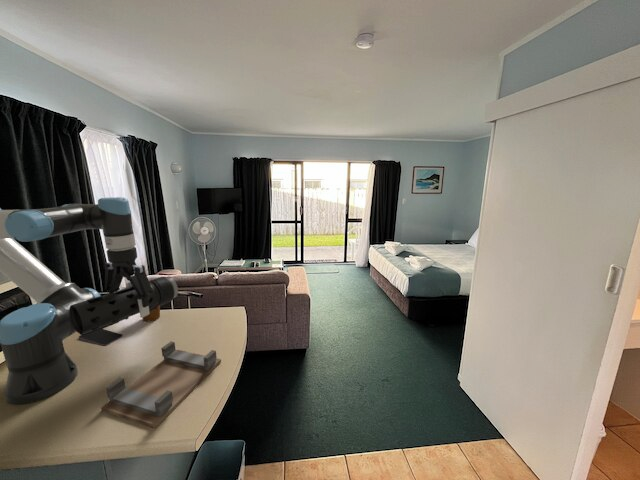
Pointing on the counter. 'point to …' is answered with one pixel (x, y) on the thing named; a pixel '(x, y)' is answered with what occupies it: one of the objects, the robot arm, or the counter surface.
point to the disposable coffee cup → (152, 315)
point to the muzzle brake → (119, 306)
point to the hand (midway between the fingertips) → (132, 313)
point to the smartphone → (101, 337)
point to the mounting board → (160, 386)
